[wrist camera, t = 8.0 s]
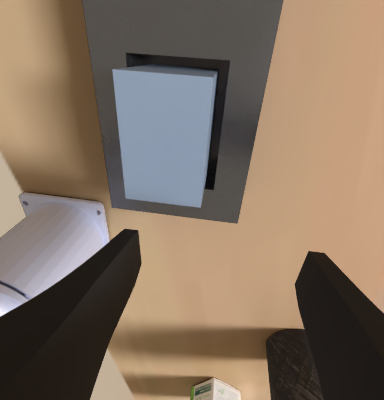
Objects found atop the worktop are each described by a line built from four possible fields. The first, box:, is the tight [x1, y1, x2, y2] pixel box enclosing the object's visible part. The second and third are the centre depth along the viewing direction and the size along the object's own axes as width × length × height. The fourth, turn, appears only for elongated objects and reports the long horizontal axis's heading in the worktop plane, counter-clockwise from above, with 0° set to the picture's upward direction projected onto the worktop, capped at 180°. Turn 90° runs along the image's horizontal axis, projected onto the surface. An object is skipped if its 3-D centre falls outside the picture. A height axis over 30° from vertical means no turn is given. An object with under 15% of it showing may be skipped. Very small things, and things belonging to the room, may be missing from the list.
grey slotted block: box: [82, 0, 283, 223], centre depth 13 cm, size 18×9×4 cm, turn 177°
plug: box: [112, 64, 219, 208], centre depth 13 cm, size 6×4×6 cm, turn 176°
